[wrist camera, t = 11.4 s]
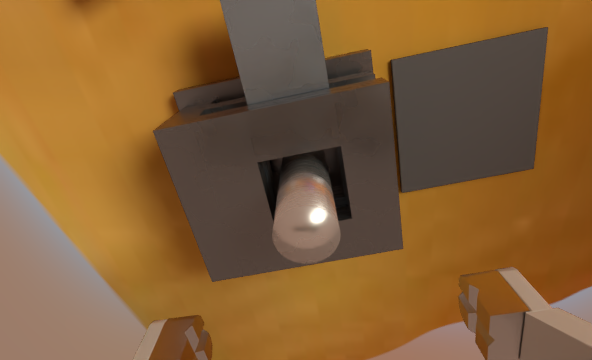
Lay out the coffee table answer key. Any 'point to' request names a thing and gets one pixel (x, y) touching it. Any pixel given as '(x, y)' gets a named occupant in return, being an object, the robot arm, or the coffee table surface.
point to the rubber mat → (468, 110)
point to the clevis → (282, 141)
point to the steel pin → (305, 209)
